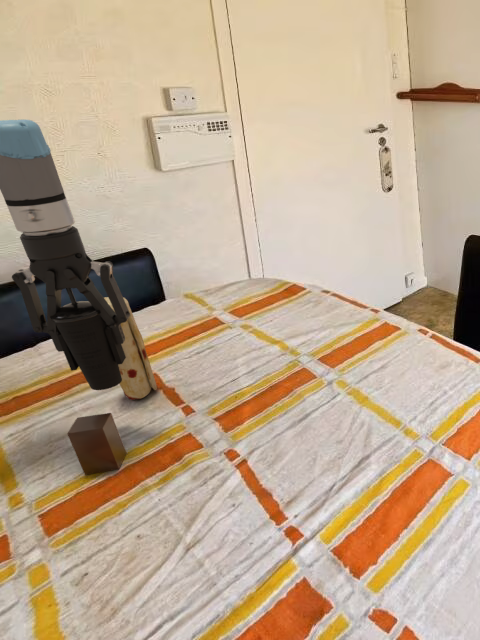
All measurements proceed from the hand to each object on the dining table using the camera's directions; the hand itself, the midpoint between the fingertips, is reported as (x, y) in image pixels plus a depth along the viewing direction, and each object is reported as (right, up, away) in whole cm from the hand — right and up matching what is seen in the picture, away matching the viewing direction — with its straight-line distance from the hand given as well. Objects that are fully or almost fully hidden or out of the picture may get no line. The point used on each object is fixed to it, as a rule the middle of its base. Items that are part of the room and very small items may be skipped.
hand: (99, 363), depth 106 cm
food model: (-4, -6, +18) cm, 19 cm away
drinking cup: (0, -4, +2) cm, 4 cm away
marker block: (+3, -17, -3) cm, 17 cm away
